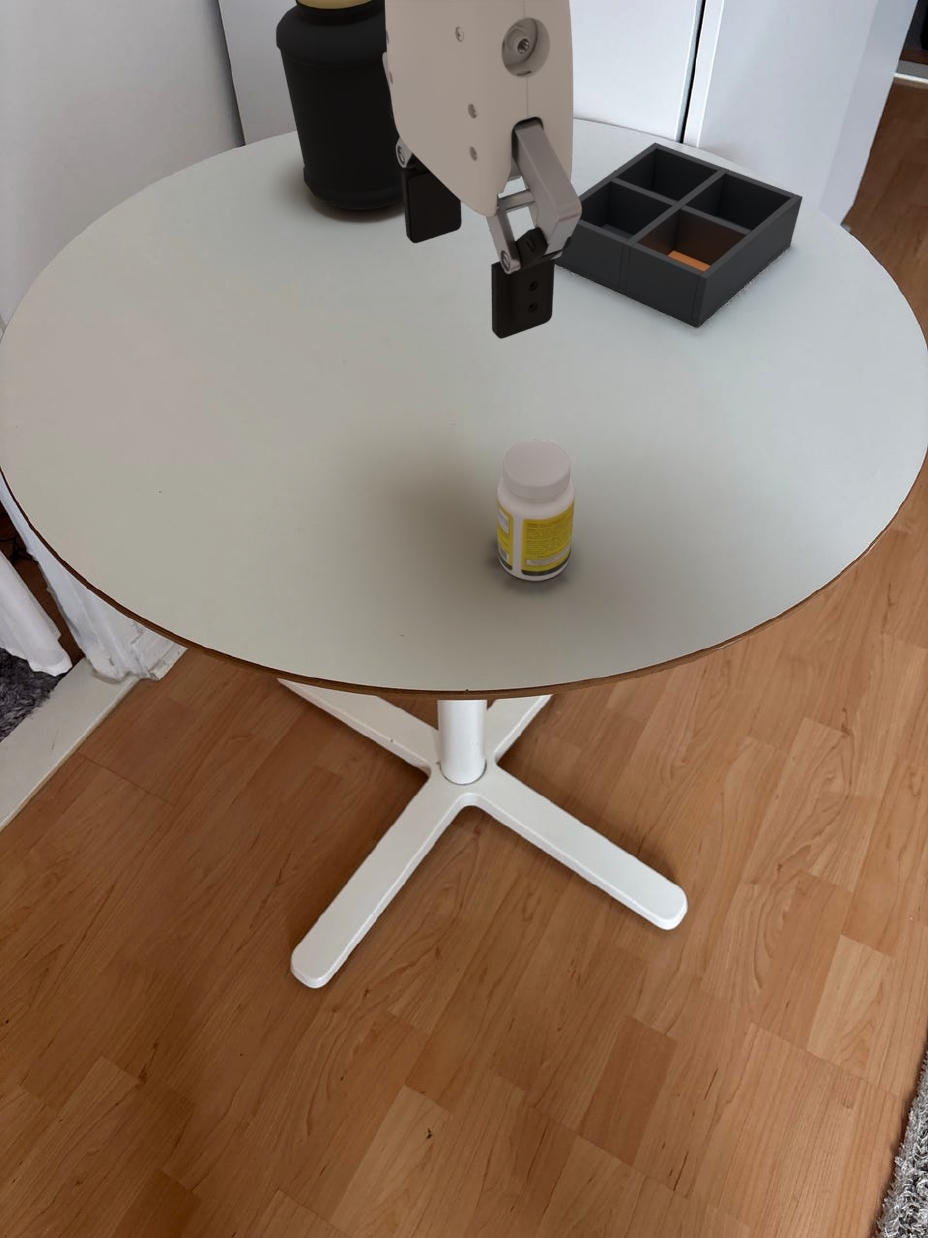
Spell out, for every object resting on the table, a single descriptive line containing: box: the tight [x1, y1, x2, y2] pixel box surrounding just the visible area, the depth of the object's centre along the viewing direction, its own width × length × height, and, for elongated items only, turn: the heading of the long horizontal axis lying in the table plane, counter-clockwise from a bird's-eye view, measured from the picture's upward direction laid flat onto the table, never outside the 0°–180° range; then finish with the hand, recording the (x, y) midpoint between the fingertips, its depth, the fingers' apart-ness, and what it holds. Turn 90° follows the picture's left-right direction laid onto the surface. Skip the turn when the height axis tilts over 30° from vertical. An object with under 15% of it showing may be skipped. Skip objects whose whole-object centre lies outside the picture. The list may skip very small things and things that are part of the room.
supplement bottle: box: [496, 438, 576, 582], centre depth 61 cm, size 5×5×8 cm
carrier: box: [555, 142, 804, 328], centre depth 83 cm, size 15×15×4 cm
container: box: [275, 0, 409, 211], centre depth 86 cm, size 12×12×18 cm
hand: (476, 278), depth 52 cm, fingers open, 9 cm apart
